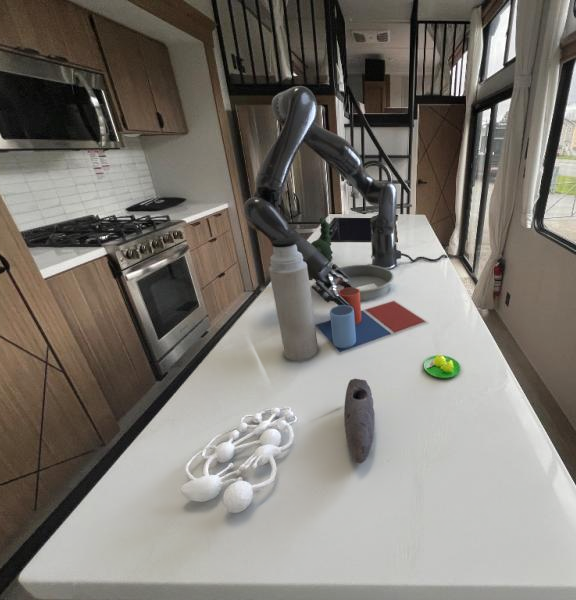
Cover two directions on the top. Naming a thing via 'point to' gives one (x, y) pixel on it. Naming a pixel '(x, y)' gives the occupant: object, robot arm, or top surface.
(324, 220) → the toy figurine
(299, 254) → the thermos bottle
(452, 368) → the green plate with lumps
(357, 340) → the blue mat
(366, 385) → the perforated stone tool
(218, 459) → the tangled rod sculpture
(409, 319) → the red mat
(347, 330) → the blue tumbler
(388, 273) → the cake pan
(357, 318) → the red tumbler
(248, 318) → the top surface
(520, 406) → the top surface
